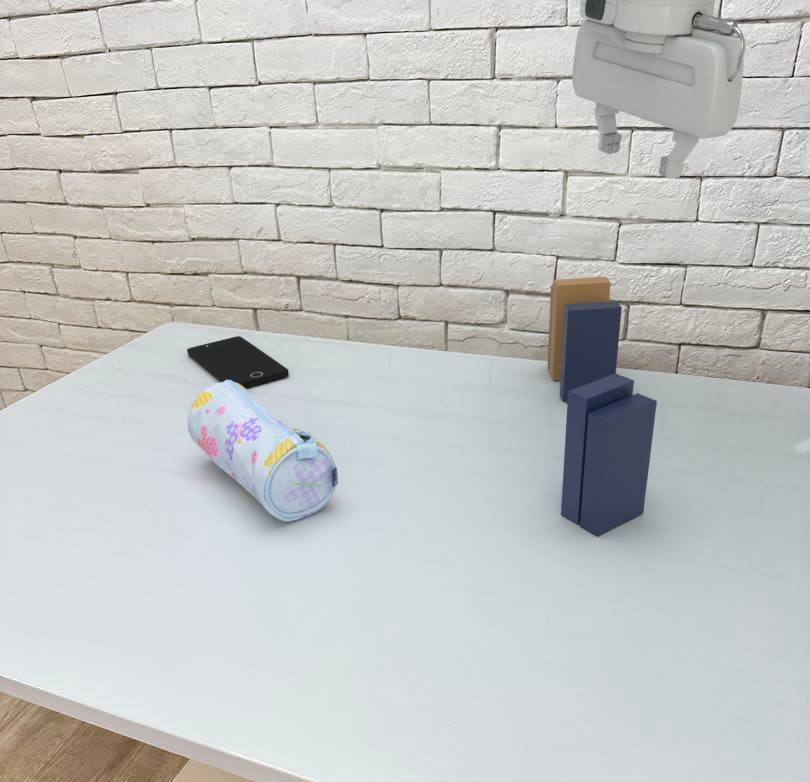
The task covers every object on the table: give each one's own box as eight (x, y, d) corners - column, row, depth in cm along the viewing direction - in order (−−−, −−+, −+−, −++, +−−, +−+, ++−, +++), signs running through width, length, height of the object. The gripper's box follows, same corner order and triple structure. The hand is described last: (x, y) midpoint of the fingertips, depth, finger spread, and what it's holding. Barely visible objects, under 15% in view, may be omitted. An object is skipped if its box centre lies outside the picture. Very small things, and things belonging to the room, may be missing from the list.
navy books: (605, 493, 90) (616, 372, 82) (643, 513, 86) (658, 388, 79) (559, 515, 87) (566, 391, 79) (597, 536, 83) (608, 409, 76)
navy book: (609, 391, 111) (617, 301, 105) (613, 399, 109) (621, 307, 103) (559, 394, 111) (564, 304, 105) (562, 402, 109) (568, 310, 103)
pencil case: (346, 509, 90) (337, 428, 85) (273, 538, 86) (259, 454, 81) (257, 440, 105) (245, 367, 99) (190, 462, 101) (174, 387, 95)
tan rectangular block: (595, 364, 119) (602, 271, 112) (602, 378, 115) (610, 282, 108) (546, 367, 119) (550, 274, 112) (552, 381, 115) (557, 285, 108)
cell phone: (232, 392, 117) (231, 385, 116) (186, 354, 130) (185, 348, 129) (290, 376, 121) (289, 369, 120) (240, 341, 134) (239, 335, 133)
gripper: (776, 20, 73) (735, 187, 82) (620, -11, 86) (600, 135, 95) (721, 26, 70) (686, 198, 79) (570, -6, 84) (554, 143, 93)
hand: (637, 163), depth 87 cm, fingers open, 8 cm apart
